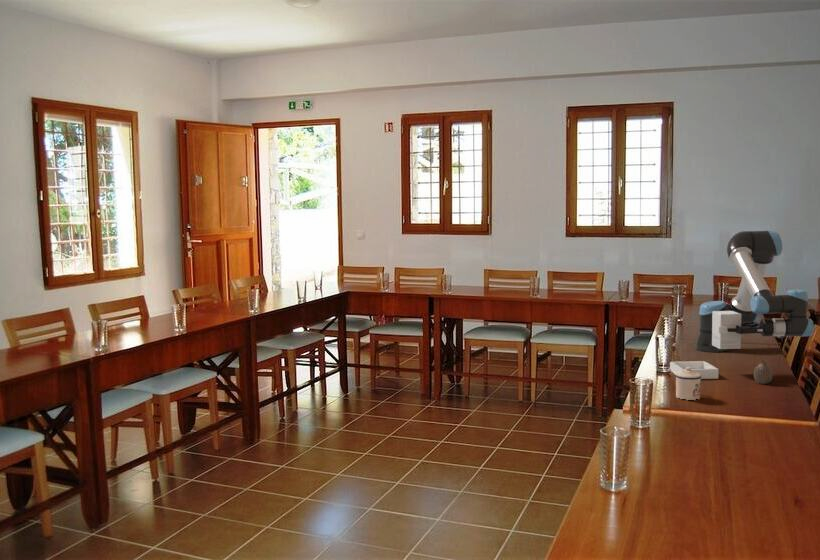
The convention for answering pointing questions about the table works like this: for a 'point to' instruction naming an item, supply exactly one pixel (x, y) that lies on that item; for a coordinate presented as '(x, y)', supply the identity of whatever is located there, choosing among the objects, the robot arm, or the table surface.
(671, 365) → the white bin
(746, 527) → the table surface
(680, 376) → the teacup with lid
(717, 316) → the supplement box
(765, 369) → the vase
